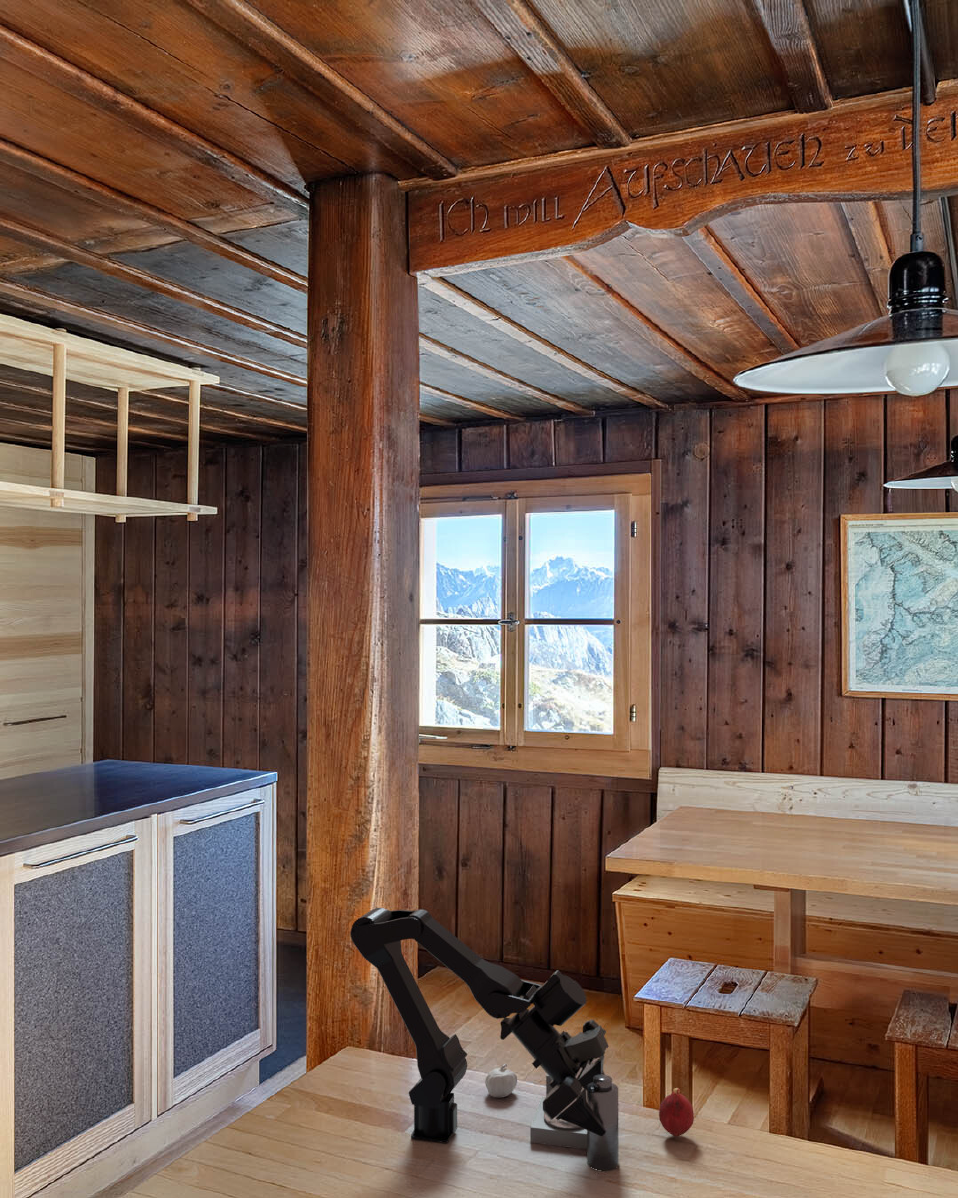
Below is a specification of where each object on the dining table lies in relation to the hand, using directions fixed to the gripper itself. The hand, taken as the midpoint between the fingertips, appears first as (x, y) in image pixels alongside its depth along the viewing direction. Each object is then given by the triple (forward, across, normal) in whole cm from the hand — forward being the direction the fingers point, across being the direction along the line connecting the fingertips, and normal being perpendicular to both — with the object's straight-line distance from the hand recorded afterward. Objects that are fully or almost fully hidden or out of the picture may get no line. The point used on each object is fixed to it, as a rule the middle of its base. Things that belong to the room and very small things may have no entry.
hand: (610, 1120), depth 169 cm
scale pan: (-3, +7, +10) cm, 12 cm away
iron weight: (+4, 0, +6) cm, 7 cm away
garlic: (-12, +17, +22) cm, 30 cm away
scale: (-2, +8, +11) cm, 14 cm away
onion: (+11, +12, -1) cm, 16 cm away
